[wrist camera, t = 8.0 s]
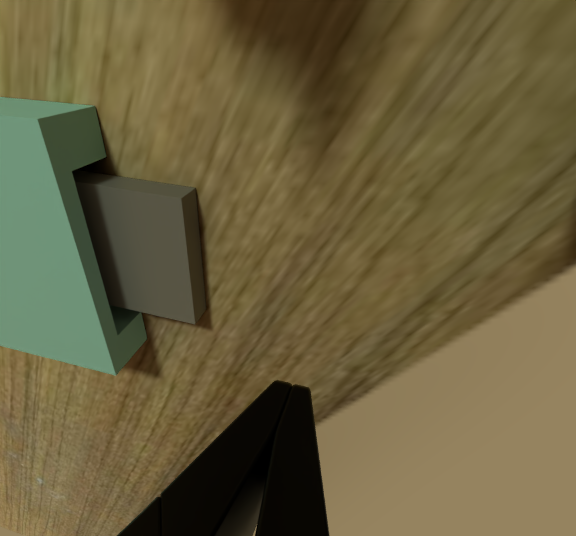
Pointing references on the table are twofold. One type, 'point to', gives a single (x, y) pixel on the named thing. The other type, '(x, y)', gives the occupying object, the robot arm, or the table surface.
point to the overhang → (54, 242)
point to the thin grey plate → (145, 244)
